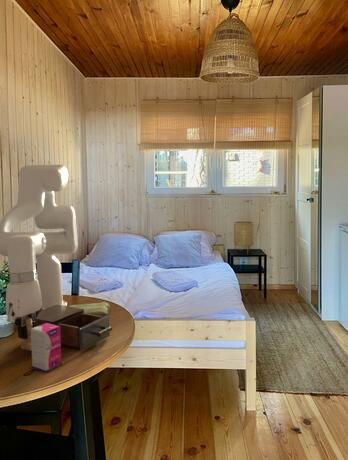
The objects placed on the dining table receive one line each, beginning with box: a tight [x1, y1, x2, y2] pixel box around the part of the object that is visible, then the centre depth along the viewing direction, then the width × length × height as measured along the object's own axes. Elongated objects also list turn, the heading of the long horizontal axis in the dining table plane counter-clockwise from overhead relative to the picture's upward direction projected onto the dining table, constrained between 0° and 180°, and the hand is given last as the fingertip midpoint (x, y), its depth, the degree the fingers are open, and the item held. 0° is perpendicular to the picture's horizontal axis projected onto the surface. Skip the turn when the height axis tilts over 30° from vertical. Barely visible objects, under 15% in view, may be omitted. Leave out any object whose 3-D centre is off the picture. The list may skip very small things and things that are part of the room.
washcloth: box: [68, 301, 111, 317], centre depth 162 cm, size 13×18×3 cm
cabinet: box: [25, 305, 84, 327], centre depth 140 cm, size 12×14×8 cm
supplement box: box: [31, 323, 62, 373], centre depth 117 cm, size 6×6×12 cm
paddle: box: [20, 317, 32, 352], centre depth 126 cm, size 5×2×10 cm, turn 62°
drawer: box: [55, 313, 113, 351], centre depth 133 cm, size 15×13×7 cm
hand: (26, 336), depth 126 cm, fingers closed on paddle, 2 cm apart
